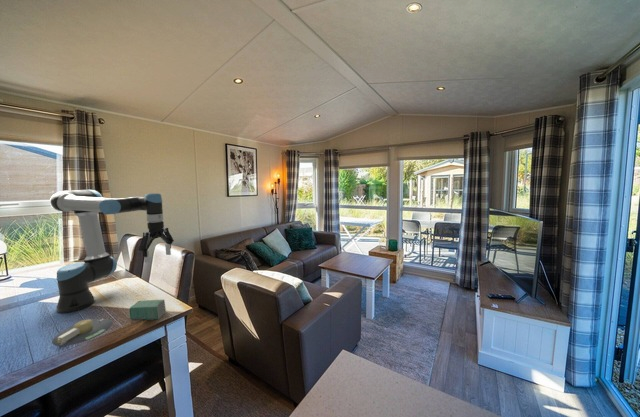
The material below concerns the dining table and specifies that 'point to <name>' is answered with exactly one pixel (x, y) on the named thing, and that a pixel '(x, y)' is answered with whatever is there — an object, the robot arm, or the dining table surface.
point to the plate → (98, 329)
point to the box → (147, 309)
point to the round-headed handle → (76, 330)
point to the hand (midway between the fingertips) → (158, 258)
